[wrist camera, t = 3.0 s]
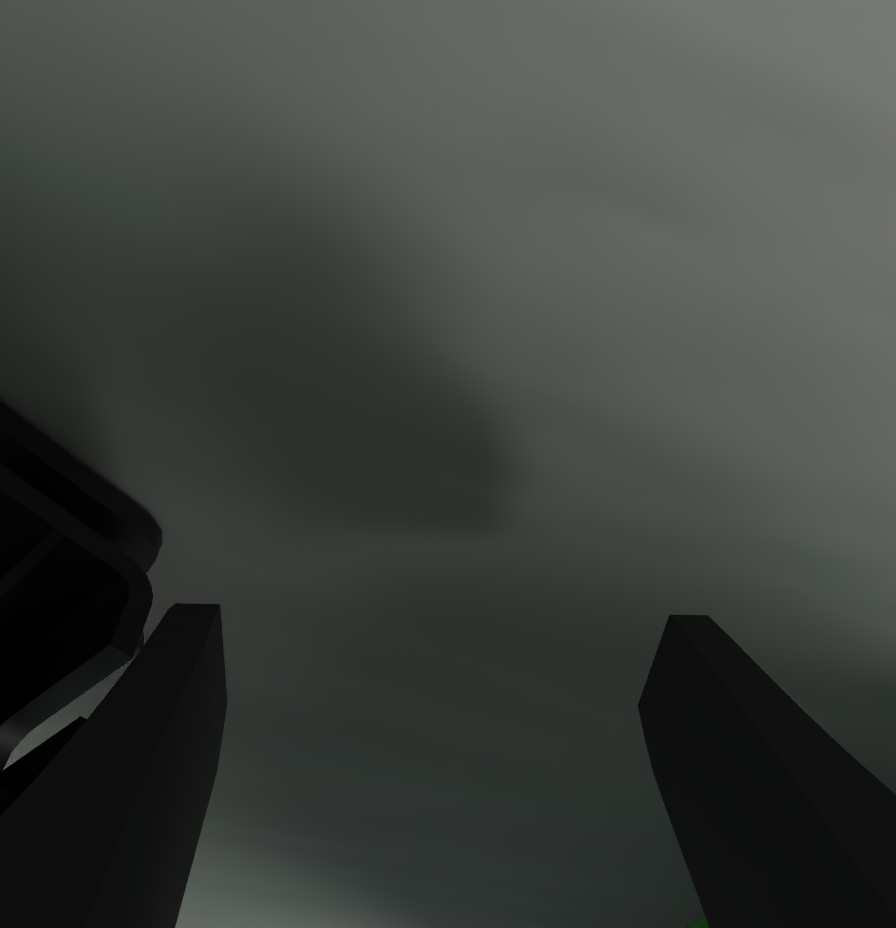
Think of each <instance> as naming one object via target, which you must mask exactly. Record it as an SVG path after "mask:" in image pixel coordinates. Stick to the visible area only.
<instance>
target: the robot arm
mask: <svg viewBox="0 0 896 928" xmlns="http://www.w3.org/2000/svg"><path fill="white" fill-rule="evenodd" d="M226 708H227V691H226V678H225V664H224V651H223V637H222V624H221V610H220V604H180V603H176V604H175V605H173V606H172V607H171V608H169V609H168V611H167V612H166V614H165V615H164V617H163V618H162V620H161V621H160V623H159V624H158V626H157V627H156V629H155V630H154V632H153V633H152V635H151V636H150V637H149V639H148V640H147V642H146V643H145V645H144V646H143V647H142V649H141V650H140V652H139V653H138V654H137V656H136V657H135V658H134V660H133V661H132V662H131V664H130V665H129V666H128V668H127V669H126V670H125V672H124V673H123V675H122V676H121V677H120V679H119V680H118V681H117V682H116V684H115V685H114V686H113V687H112V689H111V690H110V691H109V692H108V694H107V695H106V696H105V698H104V699H103V700H102V701H101V703H100V704H99V705H98V706H97V708H96V709H95V710H94V711H93V713H92V714H91V715H90V716H89V718H88V719H87V720H86V721H85V723H84V724H83V725H82V726H81V727H80V729H79V730H78V731H77V732H76V733H75V735H74V736H73V737H72V738H71V739H70V740H69V741H68V743H67V744H66V745H65V746H64V747H63V748H62V749H61V751H60V752H59V753H58V754H57V755H56V756H55V757H54V758H53V760H52V761H51V762H50V763H49V764H48V765H47V766H46V768H45V769H44V770H43V771H42V772H41V773H40V774H39V775H38V777H37V778H36V779H35V780H34V781H33V782H32V783H31V784H30V786H29V787H28V788H27V789H26V790H25V791H24V792H23V793H22V794H21V795H20V796H19V797H18V798H17V799H16V800H15V802H14V803H13V804H12V805H11V806H10V807H9V808H8V809H7V810H6V811H5V812H4V813H3V814H2V815H1V816H0V928H175V925H176V922H177V918H178V914H179V910H180V907H181V903H182V899H183V896H184V892H185V888H186V884H187V881H188V877H189V873H190V870H191V866H192V862H193V858H194V855H195V851H196V847H197V844H198V840H199V836H200V833H201V829H202V825H203V821H204V818H205V814H206V810H207V806H208V802H209V799H210V795H211V791H212V787H213V783H214V780H215V776H216V772H217V766H218V760H219V754H220V747H221V741H222V735H223V728H224V721H225V715H226ZM638 708H639V713H640V718H641V722H642V727H643V732H644V736H645V741H646V745H647V749H648V753H649V757H650V762H651V766H652V770H653V773H654V776H655V779H656V781H657V784H658V787H659V790H660V793H661V796H662V798H663V801H664V804H665V807H666V810H667V812H668V815H669V818H670V821H671V824H672V826H673V829H674V832H675V834H676V837H677V840H678V843H679V845H680V848H681V851H682V854H683V856H684V859H685V862H686V864H687V867H688V870H689V873H690V875H691V878H692V881H693V884H694V886H695V889H696V892H697V894H698V897H699V900H700V903H701V905H702V908H703V911H704V914H705V916H706V919H707V922H708V925H709V928H896V795H895V794H894V793H893V792H892V791H891V790H890V789H888V788H887V787H886V786H885V785H884V784H883V783H882V782H880V781H879V780H878V779H877V778H876V777H875V776H874V775H873V774H871V773H870V772H869V771H868V770H867V769H866V768H865V767H864V766H862V765H861V764H860V763H859V762H858V761H857V760H856V759H854V758H853V757H852V756H851V755H850V754H849V753H848V752H847V751H846V750H844V749H843V748H842V747H841V746H840V745H839V744H838V743H837V742H836V741H835V740H834V739H833V738H832V737H830V736H829V735H828V734H827V733H826V732H825V731H824V730H823V729H822V728H821V727H820V726H819V725H818V724H817V723H816V722H815V721H814V720H813V719H811V718H810V717H809V716H808V715H807V714H806V713H805V712H804V711H803V710H802V709H801V708H800V707H799V706H798V705H797V704H796V703H795V702H794V701H793V700H792V699H791V698H790V697H789V696H788V695H787V694H786V693H785V692H784V691H783V690H782V689H781V688H780V687H779V686H778V685H777V684H776V683H775V682H774V681H773V680H772V679H771V678H770V677H769V676H768V675H767V674H766V673H765V672H764V671H763V670H762V669H761V668H760V667H759V666H758V665H757V664H756V663H755V662H754V661H753V660H752V659H751V658H750V657H749V656H748V655H747V654H746V653H745V652H744V651H743V650H742V649H741V648H740V647H739V646H738V645H737V644H736V643H735V642H734V641H733V640H732V639H731V638H730V637H729V636H728V635H727V634H726V633H725V632H724V631H723V630H722V629H721V628H720V627H719V626H718V625H717V624H716V623H715V622H714V621H713V620H712V619H711V618H710V617H709V616H708V615H669V618H668V621H667V624H666V626H665V629H664V632H663V635H662V638H661V641H660V644H659V646H658V649H657V652H656V655H655V658H654V661H653V664H652V667H651V669H650V672H649V675H648V678H647V681H646V684H645V687H644V689H643V692H642V695H641V698H640V701H639V704H638Z"/></svg>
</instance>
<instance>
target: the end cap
mask: <svg viewBox="0 0 896 928" xmlns="http://www.w3.org/2000/svg"><path fill="white" fill-rule="evenodd" d="M161 545H162V532H161V528H160V527H159V526H158V525H157V523H156V522H155V521H154V520H153V518H152V517H151V516H150V515H149V514H147V513H146V512H145V511H143V510H142V509H141V508H139V507H138V506H137V505H135V504H134V503H133V502H132V501H130V500H129V499H128V498H126V497H125V496H124V495H122V494H121V493H120V492H118V491H117V490H116V489H115V488H113V487H112V486H111V485H109V484H108V483H107V482H105V481H104V480H103V479H101V478H100V477H99V476H98V475H96V474H95V473H94V472H92V471H91V470H90V469H88V468H87V467H86V466H84V465H83V464H82V463H81V462H79V461H78V460H77V459H75V458H74V457H73V456H71V455H70V454H69V453H67V452H66V451H65V450H64V449H62V448H61V447H60V446H58V445H57V444H56V443H54V442H53V441H52V440H50V439H49V438H48V437H47V436H45V435H44V434H43V433H41V432H40V431H39V430H37V429H36V428H35V427H33V426H32V425H31V424H30V423H28V422H27V421H26V420H24V419H23V418H22V417H20V416H19V415H18V414H16V413H15V412H14V411H13V410H11V409H10V408H9V407H7V406H6V405H5V404H3V403H2V402H1V401H0V816H1V815H2V814H3V813H4V812H5V811H6V810H7V809H8V808H9V807H10V806H11V805H12V804H13V803H14V802H15V800H16V799H17V798H18V797H19V796H20V795H21V794H22V793H23V792H24V791H25V790H26V789H27V788H28V787H29V786H30V784H31V783H32V782H33V781H34V780H35V779H36V778H37V777H38V775H39V774H40V773H41V772H42V771H43V770H44V769H45V768H46V766H47V765H48V764H49V763H50V762H51V761H52V760H53V758H54V757H55V756H56V755H57V754H58V753H59V752H60V751H61V749H62V748H63V747H64V746H65V745H66V744H67V743H68V741H69V740H70V739H71V738H72V737H73V736H74V735H75V733H76V732H77V731H78V730H79V729H80V727H81V726H82V725H83V724H84V723H85V721H86V720H87V719H85V718H83V717H82V716H80V717H79V718H78V719H76V720H75V721H73V722H72V723H70V724H69V725H68V726H66V727H65V728H63V729H62V730H60V731H59V732H58V733H56V734H55V735H53V736H52V737H50V738H49V739H47V740H46V741H45V742H43V743H42V744H40V745H39V746H37V747H36V748H35V749H33V750H32V751H30V752H29V753H27V754H26V755H25V756H23V757H22V758H20V759H19V760H17V761H16V762H15V763H13V764H12V765H10V766H9V767H7V768H6V769H4V767H5V764H6V762H7V760H8V758H9V756H10V754H11V752H12V751H13V750H14V748H15V747H16V746H17V745H18V744H19V742H20V741H21V740H22V739H23V738H24V737H25V736H26V735H27V734H28V733H29V732H30V731H31V730H33V729H34V728H35V727H36V726H38V725H39V724H41V723H42V722H44V721H45V720H46V719H48V718H49V717H51V716H52V715H53V714H55V713H56V712H58V711H59V710H60V709H62V708H63V707H65V706H66V705H67V704H69V703H70V702H72V701H73V700H75V699H76V698H77V697H79V696H80V695H82V694H83V693H84V692H86V691H87V690H89V689H90V688H91V687H93V686H94V685H96V684H97V683H98V682H100V681H101V680H103V679H104V678H106V677H107V676H108V675H110V674H111V673H113V672H114V671H115V670H117V669H118V668H120V667H121V666H122V665H124V664H125V663H127V662H128V661H129V660H131V659H132V658H133V657H134V656H136V655H137V654H138V653H139V652H140V650H141V649H142V647H143V644H144V634H143V627H144V625H145V622H146V619H147V617H148V614H149V611H150V608H151V605H152V599H153V594H152V587H151V584H150V582H149V579H148V577H147V575H146V574H145V573H146V572H148V570H149V569H150V567H151V566H152V565H153V563H154V562H155V560H156V558H157V555H158V552H159V550H160V547H161ZM3 769H4V770H3Z"/></svg>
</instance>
